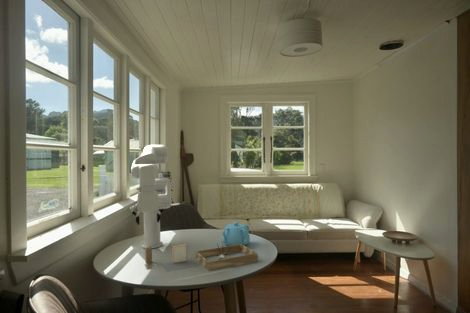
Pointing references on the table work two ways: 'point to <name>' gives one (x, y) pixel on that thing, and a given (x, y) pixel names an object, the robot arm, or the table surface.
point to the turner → (149, 259)
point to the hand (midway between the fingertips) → (148, 223)
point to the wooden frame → (234, 261)
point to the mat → (179, 265)
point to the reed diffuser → (222, 254)
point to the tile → (179, 253)
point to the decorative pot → (236, 234)
